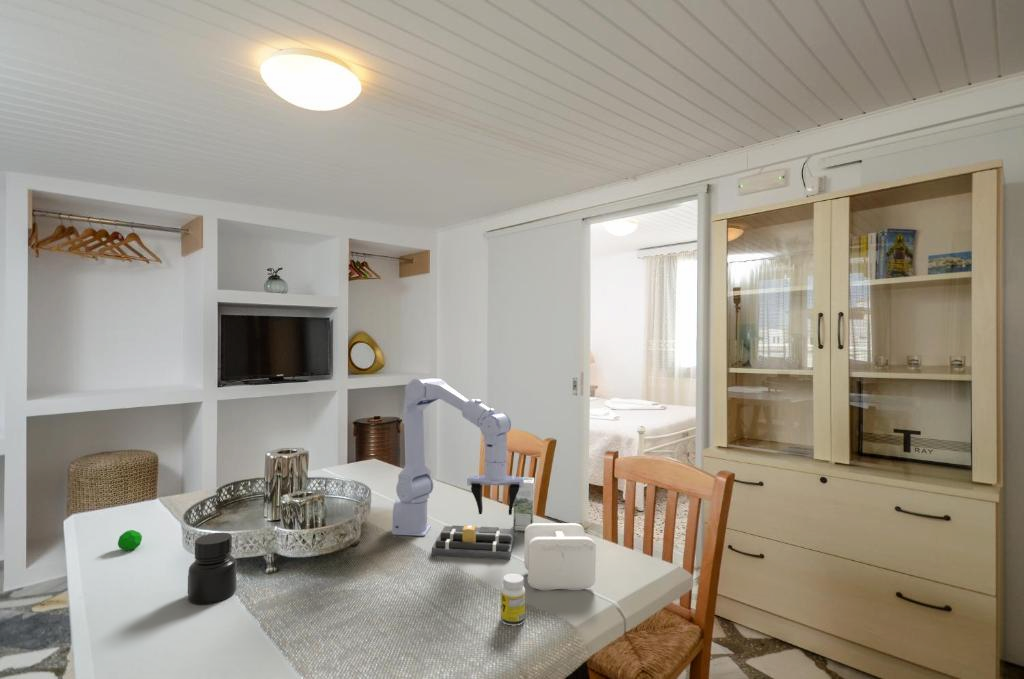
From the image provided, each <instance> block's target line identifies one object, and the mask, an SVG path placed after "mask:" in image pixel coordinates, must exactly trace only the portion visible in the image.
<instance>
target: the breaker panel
mask: <svg viewBox="0 0 1024 679" xmlns="http://www.w3.org/2000/svg"><path fill="white" fill-rule="evenodd" d="M464 526H465V525H452V526H451V525H444V527H443V528H442V530H441V531H440V534H438V537H437V538H436V540H435V541H434V543H433V545H432V547H431V556H432V557H447V558H448V557H449V558H469V559H485V560H487V559H488V560H505V561H507V560H509V561H511V557H512V552H513V548H514V543H515V539H516V538H515V537H516V531H515V529H513V528H499V527H497V526H494V527H493V526H491V527H490V526H480V527H477V526H476V533H496V532H497V531H500V534H510V535H511V536H512V540H511V541H510V542H498V543H497V544H508V545H509V546H510V549H509V550H508V551H498V550H496V552H493V550H478V549H457V548H449V549H448V550H447V549H445V548H437V547H436V546H435V545H436V541H446V540H447V539H441V538H440V536H441V533H442V531H452V529H456V532H463V528H464ZM453 542H462V540H453ZM493 542H494V541H476V542H475V543H493Z"/></svg>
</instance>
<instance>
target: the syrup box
mask: <svg viewBox="0 0 1024 679" xmlns="http://www.w3.org/2000/svg"><path fill="white" fill-rule="evenodd" d="M523 477H524V476H523ZM534 504H535V477H524V486H519V491H518V493H517V495H516V498H515V500H514V503H513V519H512V520H513V526H512V529H515V532H525V528H526V527H527V526H528V525H530V524H533V523H535V522H534V520H535V519H534V518H535V517H534V515H535V514H534V510H535V509H534V507H535V506H534Z"/></svg>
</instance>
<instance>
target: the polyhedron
mask: <svg viewBox="0 0 1024 679" xmlns="http://www.w3.org/2000/svg"><path fill="white" fill-rule="evenodd" d="M142 540H143V535H142V534H141V532H138V531H136V530H133V529H129V530H127V531H125V532H123V533H121V535H120V536H119V538H118V541H117V546H118V548H119V549H120V550H124V551H126V552H130V551H133V550H135V549H137V548H138V547H139V546H141V544H142Z"/></svg>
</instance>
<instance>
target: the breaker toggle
mask: <svg viewBox="0 0 1024 679" xmlns="http://www.w3.org/2000/svg"><path fill="white" fill-rule="evenodd" d="M463 526H464V528H463V537H462V542H474V543H475V542H476V527H477V526H476V525H472V524H471V525H470V524H469V525H463Z"/></svg>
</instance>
